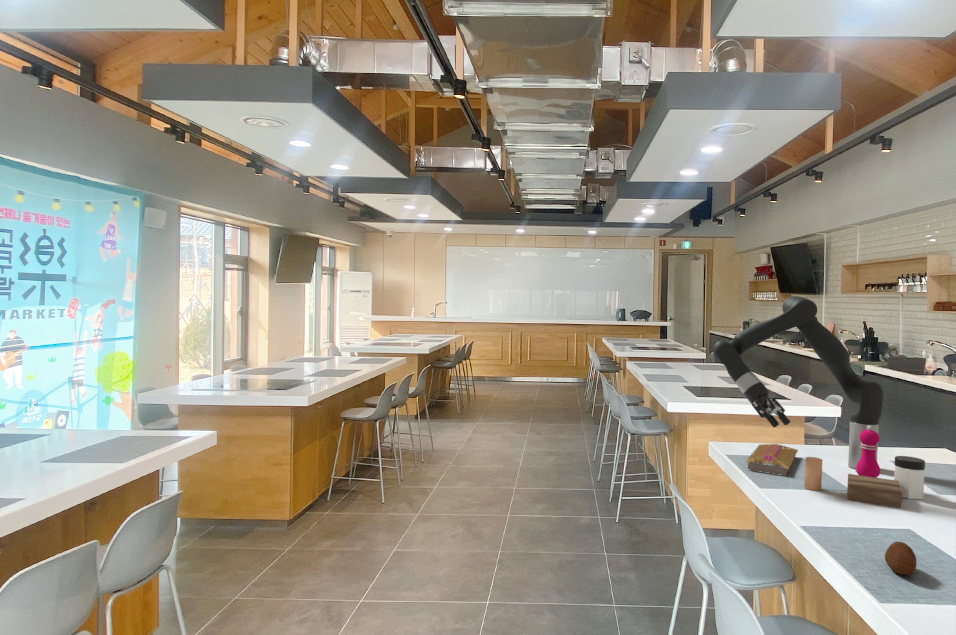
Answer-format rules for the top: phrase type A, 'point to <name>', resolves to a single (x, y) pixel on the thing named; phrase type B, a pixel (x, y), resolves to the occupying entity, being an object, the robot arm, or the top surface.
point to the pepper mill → (868, 454)
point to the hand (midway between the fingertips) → (782, 425)
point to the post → (813, 473)
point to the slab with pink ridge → (772, 458)
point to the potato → (901, 558)
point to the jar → (910, 476)
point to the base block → (874, 490)
